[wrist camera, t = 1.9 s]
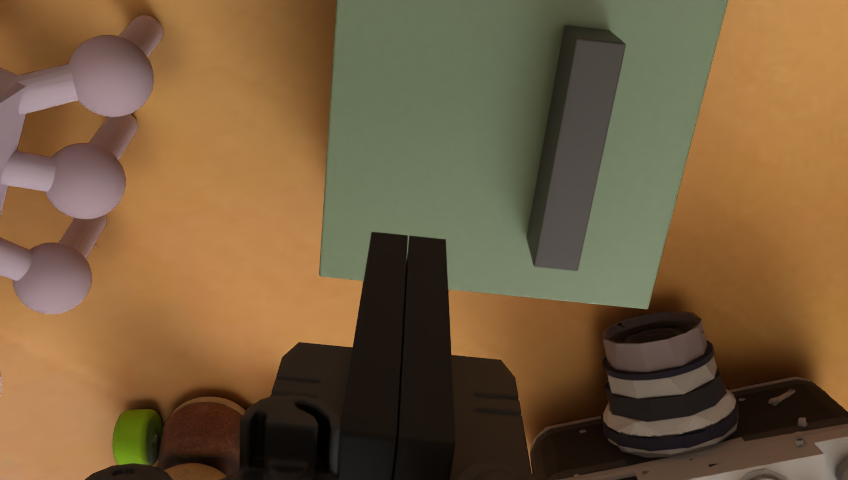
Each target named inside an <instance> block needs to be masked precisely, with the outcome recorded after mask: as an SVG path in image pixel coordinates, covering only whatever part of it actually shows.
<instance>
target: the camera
mask: <svg viewBox="0 0 848 480" xmlns="http://www.w3.org/2000/svg"><path fill="white" fill-rule="evenodd" d="M603 343H604V347H605V352H606V357H605V358H604V359H603V368H604V371H605V373H606V374H608V381H607V383H606V384H605V385H604V387H605V390H606V394H607V398H608V404H607V406H606V409H605V411H604V413H603V414H602V415H601V416H597V417H592V418H587V419H582V420H577V421H572V422H567V423H562V424H557V425H552V426H547V427H545V428H544V429H543V430H542V431H541V432H540V433H539V434H538V435H537V436H536V437H535V438H534V439H533V440H532V445H531V450H530V457H531V467H532V474H533V475H534V476H535V477H536V478H537V479H538V480H848V412H847V411H846V410H845V409H844V408H843V407H841V406H840V405H839V404H838V403H837V402H836V401H834V400H833V399H832V398H831V397H830V396H829V395H828V394H827V393H826V392H825V391H823V390H822V389H821V388H820V387H818V386H817V385H816V384H814V383H813V382H812V381H811V380H809V379H804V378H799V377H790V378H785V379H780V380H775V381H770V382H765V383H760V384H755V385H751V386H746V387H741V388H736V389H731V390H727V389H726V388H725V386H724V383H723V380H722V377H721V374H720V372H719V370H718V368H717V366H716V362H715V359H714V350H713V345H712V344H711V343H710V342H709V341H708V340H706V337H705V332H704V328H703V323H702V319H701V318H699V317H698V316H697V315H695V314H694V313H689V312H678V311H668V312H658V313H648V314H644V315H640V316H636V317H632V318H628V319H624V320H622V321H620V322H618V323H616V324H614V325H611V326H609V327H608V328H606V329H605V330H604V331H603Z"/></svg>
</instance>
